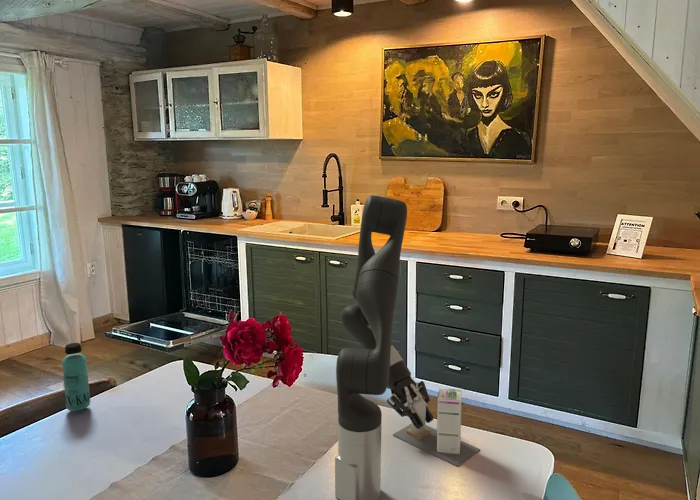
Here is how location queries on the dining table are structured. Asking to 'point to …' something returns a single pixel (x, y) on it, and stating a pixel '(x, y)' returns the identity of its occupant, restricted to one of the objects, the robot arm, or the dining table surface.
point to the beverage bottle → (75, 378)
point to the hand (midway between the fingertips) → (425, 424)
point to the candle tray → (432, 438)
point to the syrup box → (449, 421)
